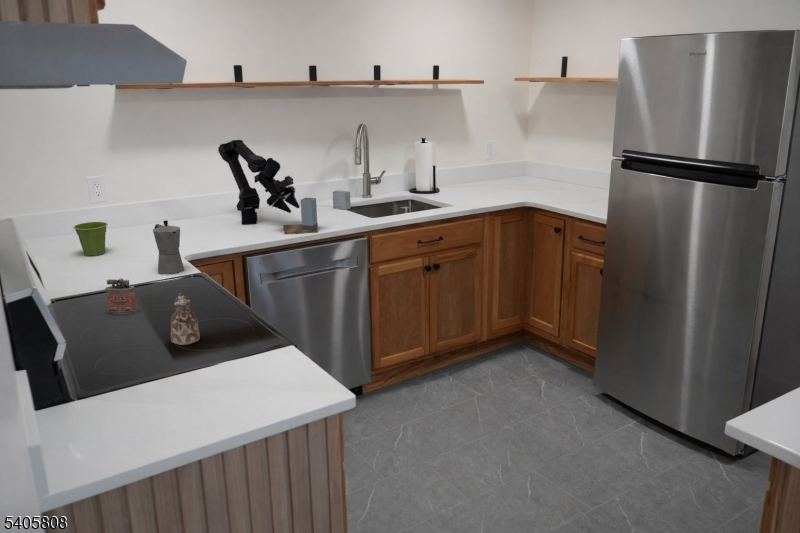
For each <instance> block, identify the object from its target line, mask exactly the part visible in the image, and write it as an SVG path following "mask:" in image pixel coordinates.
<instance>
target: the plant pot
mask: <svg viewBox="0 0 800 533" xmlns="http://www.w3.org/2000/svg"><path fill="white" fill-rule="evenodd" d="M107 226H108V223H107V222H106V221H91V222H90V221H88V222H82V223H78V224H75V225H73V226H72V227H73V230H75V232H76V235H77V237H78V240H79V242H80V245H81V248H82V251H83V255H84V256H87V257H90V256H92V257H93V256H94V257H97V256H101V255H103V254H104V253H105V252H106V232H107Z"/></svg>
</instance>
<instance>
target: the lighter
mask: <svg viewBox="0 0 800 533" xmlns="http://www.w3.org/2000/svg"><path fill="white" fill-rule="evenodd" d="M106 285H110V286H106V287H105V288H104V290H105V293H106V299H107V305H108V306H107V307H108V309H107V311H108V314H109V313H113V314H112V315H129V314H136V313H137V312H138V307H137V303H136V302H137V301H136V297H135V296H136V295H135V286H134V285H130V279H123V278H122V277H121V278H118V279H116V278H115V279H112V278H111V279H107V280H106Z"/></svg>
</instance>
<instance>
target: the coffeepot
mask: <svg viewBox="0 0 800 533" xmlns="http://www.w3.org/2000/svg"><path fill="white" fill-rule="evenodd" d="M152 233H153V235H154V240H155V243H156V247H157V250H158V260H157V261H158V262H157V273H158V274H159V273H160V274H159V275H163V274H171V275H176V274H175V273H177V274H179V272H181V273H182V271H183V272H184V271H185V267H184V264H183V260H182V257H181V253H180V252H181V251H180V245H181V244H180V240H181V239H180V238H181V227H180V226H177V225H176V226H175V225H169V220H166V219H165V220H163V224H159V223H156V224H155V226H154V228H153V229H152Z"/></svg>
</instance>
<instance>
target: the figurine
mask: <svg viewBox="0 0 800 533" xmlns="http://www.w3.org/2000/svg"><path fill="white" fill-rule="evenodd" d="M173 306H174V312H173V314H172V315H171V318H170V341H171V343H174V344H176V345H180V346H183V345H184V346H185V345H191V344H193V343H196V342H198V341H200V337H201V335H200V329H199V323H198V317H197V315H196V313H195V312H194V311H193V310H191V299H189V298H188V297H187V296H186V295H183V293H181V292H179V293H178V294H177V297H176V298H175V299H174V302H173Z"/></svg>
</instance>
